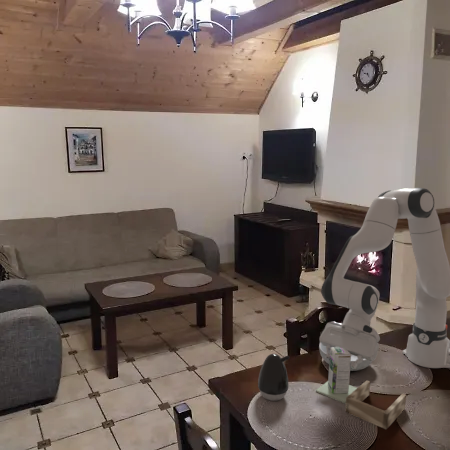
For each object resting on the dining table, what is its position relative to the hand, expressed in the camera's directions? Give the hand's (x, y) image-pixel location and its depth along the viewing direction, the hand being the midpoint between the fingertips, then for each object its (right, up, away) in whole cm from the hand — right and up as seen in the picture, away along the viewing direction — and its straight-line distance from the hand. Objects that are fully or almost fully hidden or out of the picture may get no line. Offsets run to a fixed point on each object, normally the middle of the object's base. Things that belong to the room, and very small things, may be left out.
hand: (340, 363), depth 157 cm
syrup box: (0, -10, +2) cm, 10 cm away
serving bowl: (+8, -7, +22) cm, 24 cm away
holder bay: (+9, -12, -9) cm, 18 cm away
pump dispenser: (-23, -11, -1) cm, 25 cm away
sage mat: (0, -10, +2) cm, 10 cm away
